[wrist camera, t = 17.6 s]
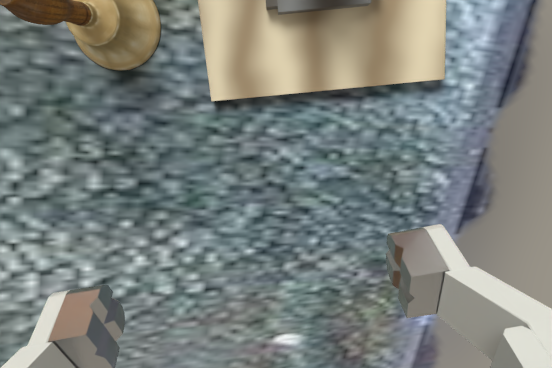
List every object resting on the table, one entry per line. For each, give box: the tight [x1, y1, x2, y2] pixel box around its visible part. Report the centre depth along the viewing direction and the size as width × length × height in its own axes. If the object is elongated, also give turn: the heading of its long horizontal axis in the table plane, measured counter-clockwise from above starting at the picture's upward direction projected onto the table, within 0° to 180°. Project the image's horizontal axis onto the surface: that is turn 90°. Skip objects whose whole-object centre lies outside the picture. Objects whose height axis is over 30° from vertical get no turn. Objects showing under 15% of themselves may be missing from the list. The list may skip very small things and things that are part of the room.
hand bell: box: [0, 0, 161, 70], centre depth 29 cm, size 8×8×16 cm
